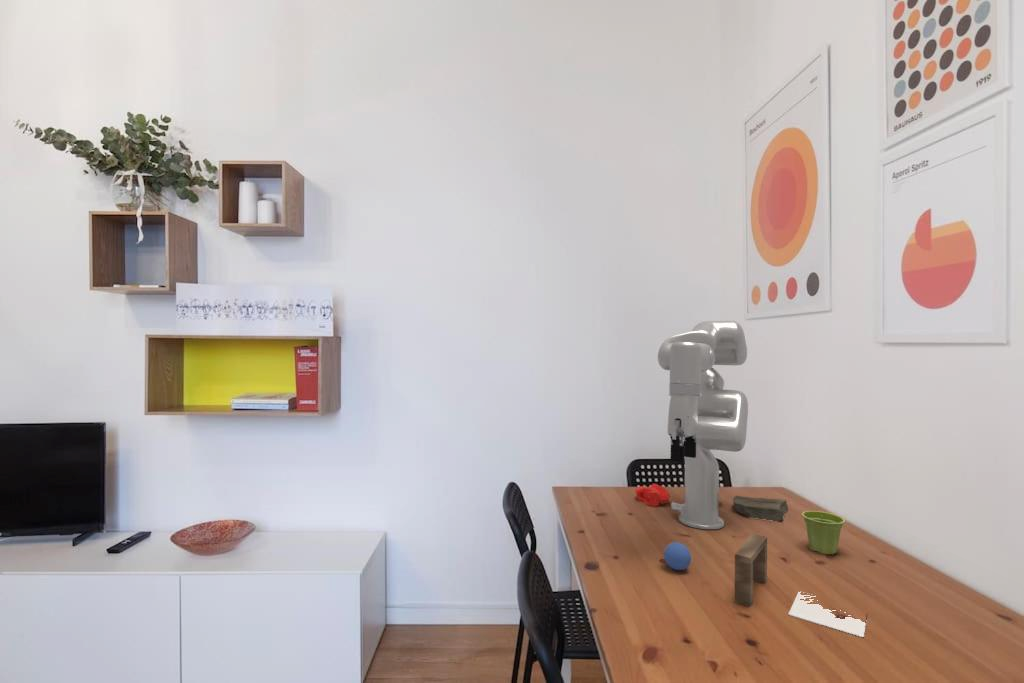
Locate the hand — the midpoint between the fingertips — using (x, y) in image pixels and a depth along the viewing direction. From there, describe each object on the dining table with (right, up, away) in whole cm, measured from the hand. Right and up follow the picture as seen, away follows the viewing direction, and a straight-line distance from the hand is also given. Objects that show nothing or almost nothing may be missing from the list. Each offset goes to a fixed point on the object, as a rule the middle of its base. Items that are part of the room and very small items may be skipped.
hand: (683, 459), depth 125 cm
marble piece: (+36, -26, +33) cm, 56 cm away
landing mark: (+19, -24, -27) cm, 41 cm away
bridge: (+8, -24, -18) cm, 31 cm away
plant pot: (+38, -25, +4) cm, 45 cm away
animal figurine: (+5, -25, +45) cm, 52 cm away
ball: (-4, -21, -8) cm, 23 cm away
